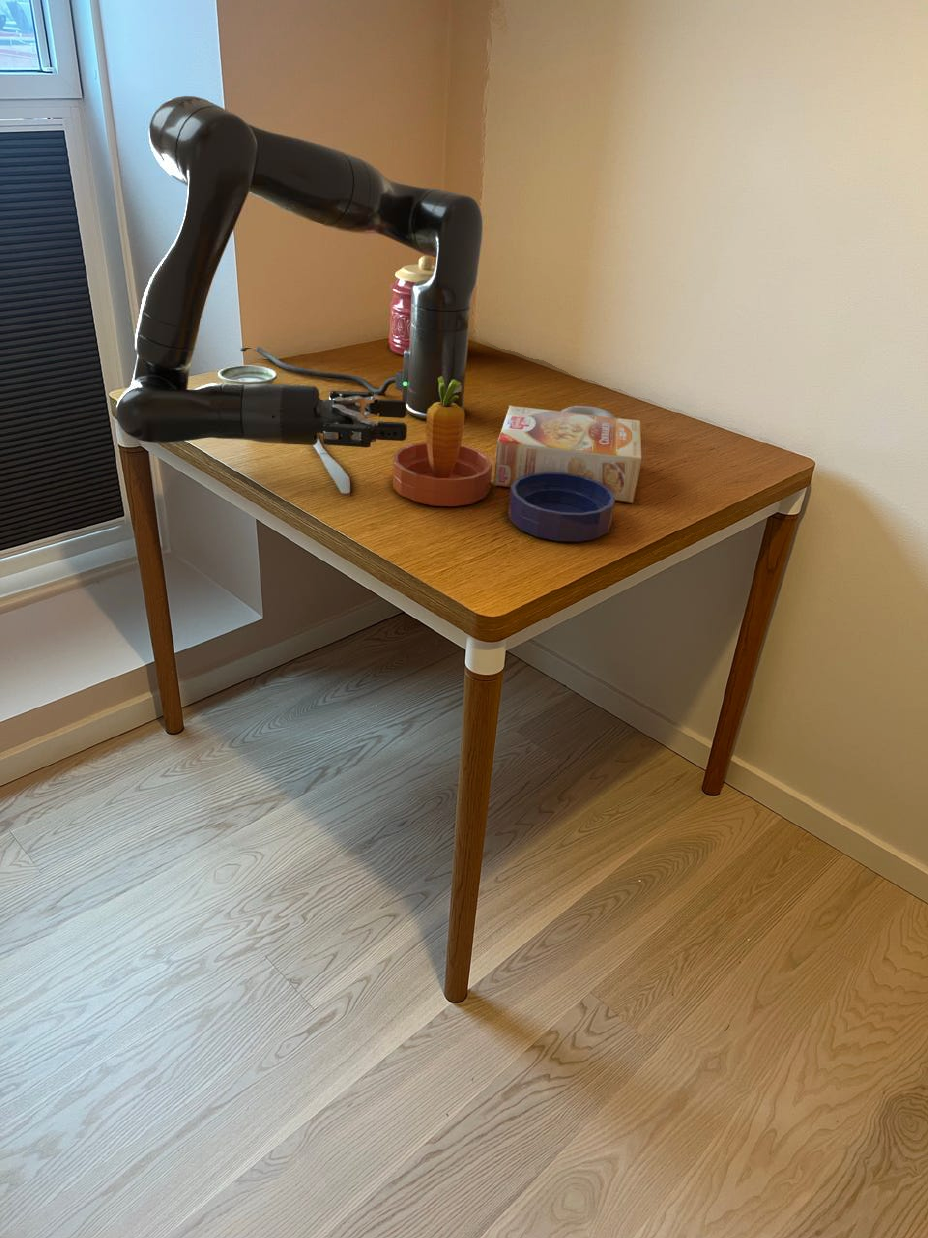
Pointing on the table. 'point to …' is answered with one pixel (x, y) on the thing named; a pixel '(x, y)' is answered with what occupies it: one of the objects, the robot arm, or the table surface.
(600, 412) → the donut
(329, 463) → the butter knife
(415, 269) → the kitchen canister
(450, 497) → the terracotta bowl
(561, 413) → the coffeecake box
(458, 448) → the carrot
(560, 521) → the indigo bowl
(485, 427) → the table surface
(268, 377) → the saucer
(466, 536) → the table surface
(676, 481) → the table surface
